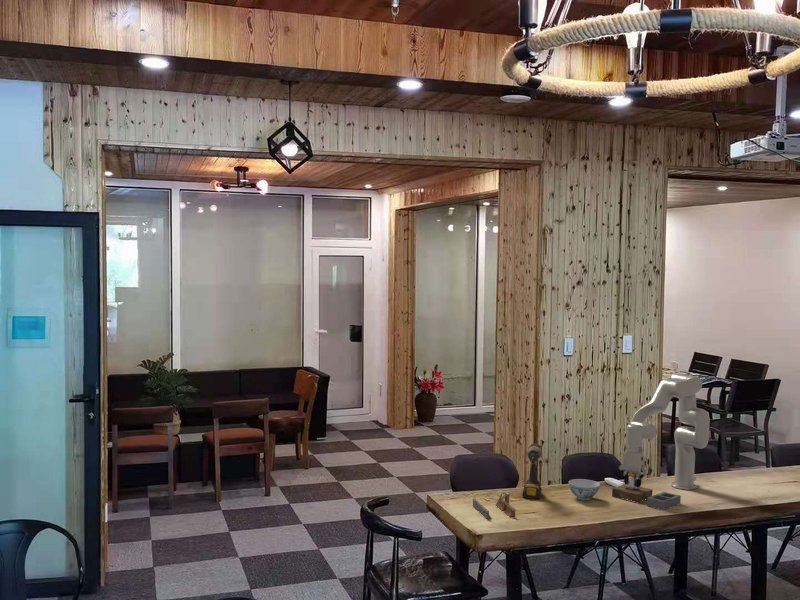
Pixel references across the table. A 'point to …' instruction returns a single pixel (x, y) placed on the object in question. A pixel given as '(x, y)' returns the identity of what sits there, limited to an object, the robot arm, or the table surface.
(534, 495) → the power drill
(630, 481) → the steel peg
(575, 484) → the chinaware
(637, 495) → the socket block
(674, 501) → the gray cinder block
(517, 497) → the table surface
